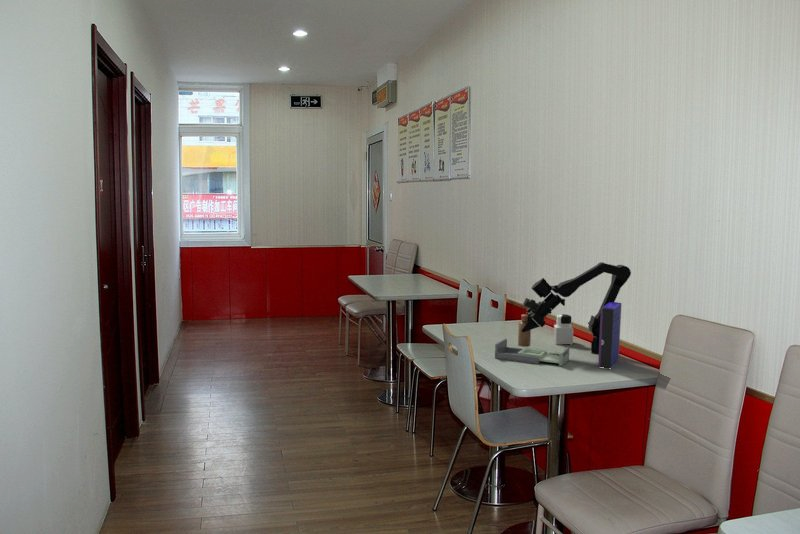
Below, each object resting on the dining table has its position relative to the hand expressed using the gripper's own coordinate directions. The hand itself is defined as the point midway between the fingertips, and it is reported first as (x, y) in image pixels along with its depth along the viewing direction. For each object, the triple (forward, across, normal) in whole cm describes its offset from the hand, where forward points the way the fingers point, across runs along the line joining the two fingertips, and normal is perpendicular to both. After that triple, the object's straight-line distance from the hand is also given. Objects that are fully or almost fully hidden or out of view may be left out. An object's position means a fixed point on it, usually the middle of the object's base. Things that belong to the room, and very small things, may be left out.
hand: (521, 330), depth 295 cm
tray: (+1, +17, +11) cm, 20 cm away
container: (-8, -18, +22) cm, 29 cm away
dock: (+8, +13, +5) cm, 16 cm away
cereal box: (-16, +19, +30) cm, 39 cm away
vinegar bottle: (+4, 0, +6) cm, 7 cm away
